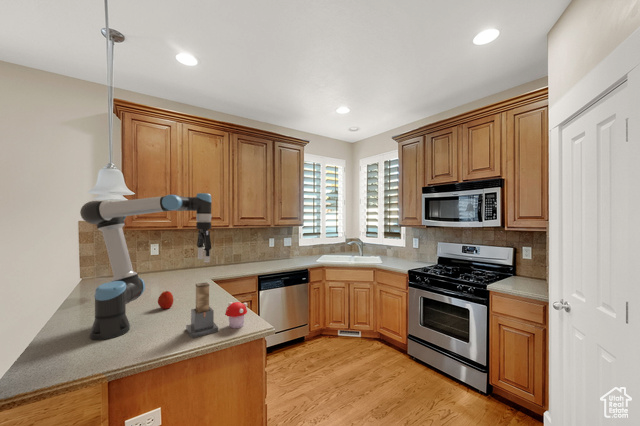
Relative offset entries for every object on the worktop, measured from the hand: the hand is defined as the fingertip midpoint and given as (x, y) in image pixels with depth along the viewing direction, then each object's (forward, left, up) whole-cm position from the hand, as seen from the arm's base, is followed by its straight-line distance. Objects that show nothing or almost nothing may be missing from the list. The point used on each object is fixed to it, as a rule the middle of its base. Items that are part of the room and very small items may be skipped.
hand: (203, 260), depth 147 cm
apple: (-14, +32, -32) cm, 47 cm away
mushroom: (+11, -19, -32) cm, 39 cm away
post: (-4, -15, -29) cm, 33 cm away
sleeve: (-4, -15, -32) cm, 35 cm away
